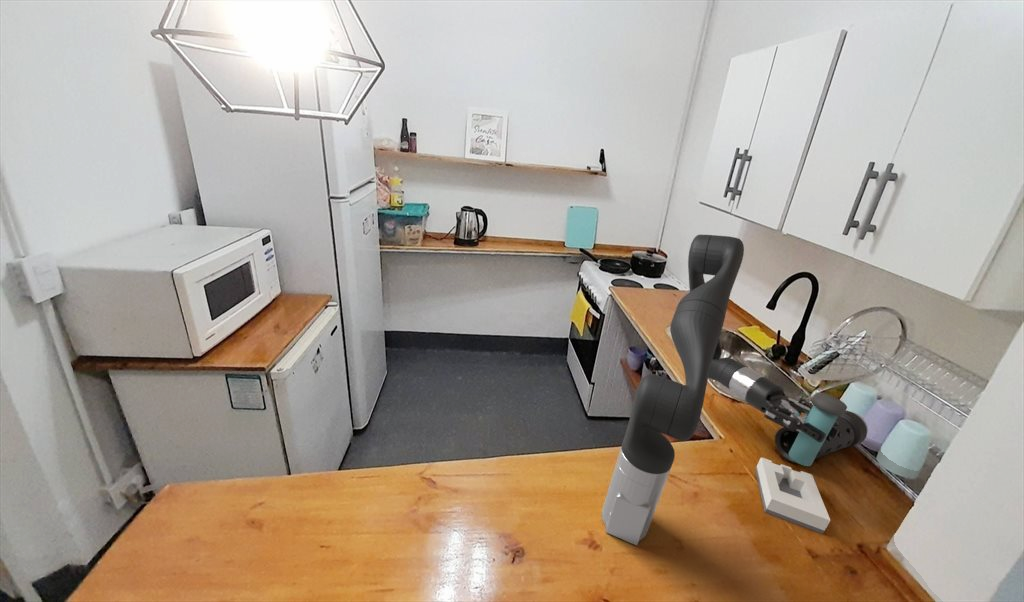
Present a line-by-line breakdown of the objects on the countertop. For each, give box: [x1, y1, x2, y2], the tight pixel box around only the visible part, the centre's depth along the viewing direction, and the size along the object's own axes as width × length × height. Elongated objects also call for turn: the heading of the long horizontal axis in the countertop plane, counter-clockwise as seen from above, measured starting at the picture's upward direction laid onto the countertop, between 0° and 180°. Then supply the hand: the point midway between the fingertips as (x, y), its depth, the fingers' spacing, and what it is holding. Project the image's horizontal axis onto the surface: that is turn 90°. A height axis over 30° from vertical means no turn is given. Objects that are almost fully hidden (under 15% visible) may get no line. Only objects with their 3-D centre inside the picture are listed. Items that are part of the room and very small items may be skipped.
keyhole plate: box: [754, 456, 831, 535], centre depth 92 cm, size 14×11×4 cm
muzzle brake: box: [774, 410, 869, 464], centre depth 109 cm, size 10×28×10 cm, turn 115°
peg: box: [789, 392, 848, 467], centre depth 86 cm, size 6×6×16 cm
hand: (830, 436), depth 84 cm, fingers closed on peg, 4 cm apart
